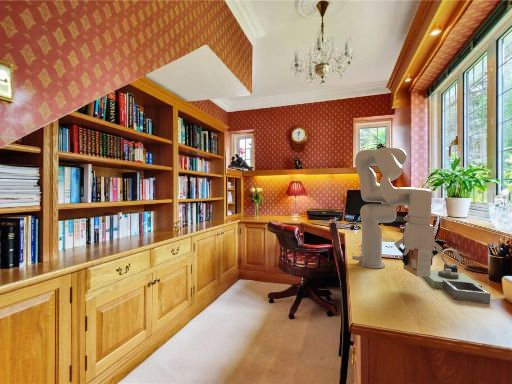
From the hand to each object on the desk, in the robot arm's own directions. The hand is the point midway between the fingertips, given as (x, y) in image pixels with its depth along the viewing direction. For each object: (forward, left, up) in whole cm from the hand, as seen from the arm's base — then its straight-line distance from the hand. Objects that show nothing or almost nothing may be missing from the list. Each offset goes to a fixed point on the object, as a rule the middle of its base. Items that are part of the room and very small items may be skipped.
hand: (416, 265), depth 103 cm
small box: (0, 0, -3) cm, 3 cm away
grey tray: (+15, -1, -9) cm, 18 cm away
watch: (+22, +31, -10) cm, 39 cm away
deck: (+15, +13, -9) cm, 22 cm away
